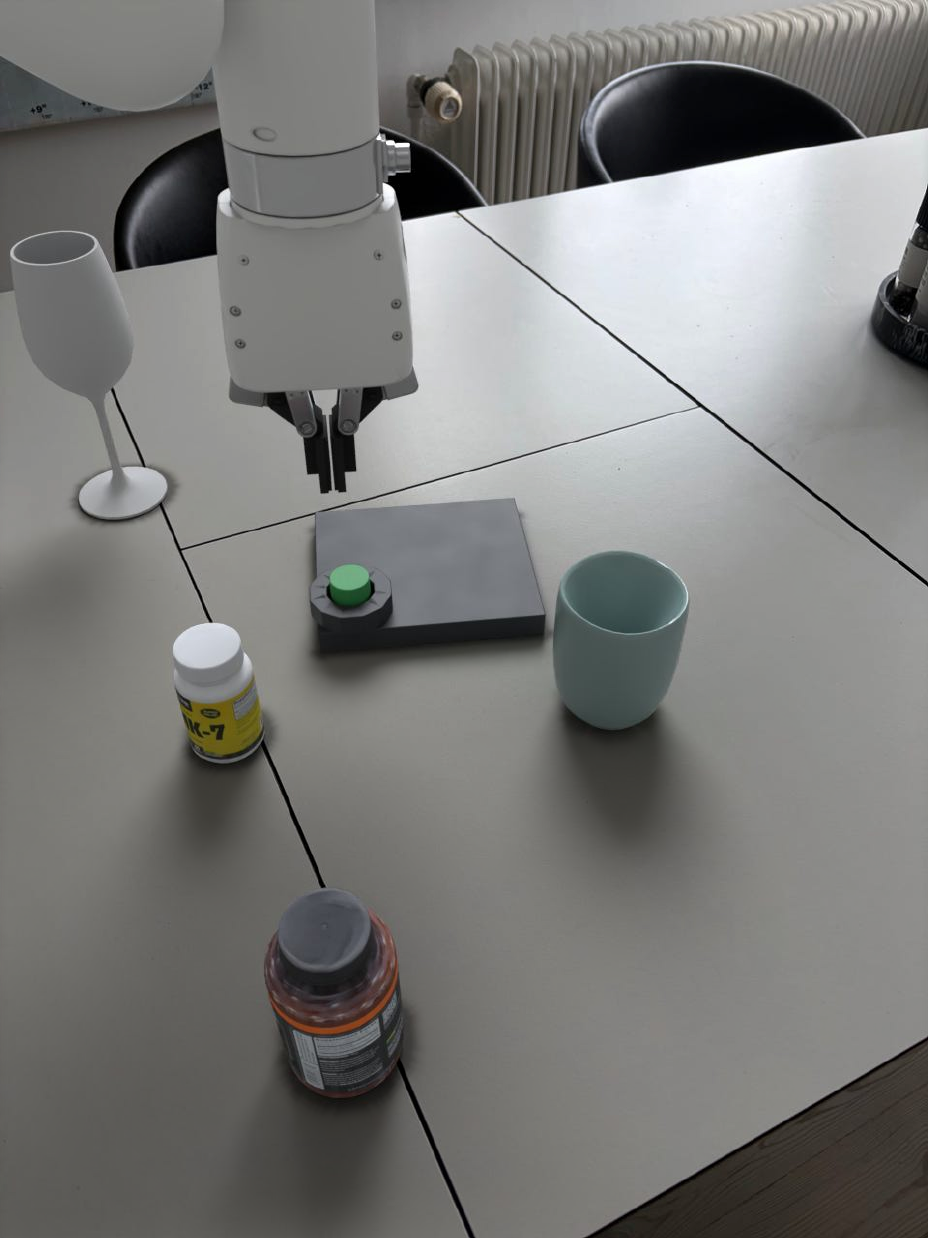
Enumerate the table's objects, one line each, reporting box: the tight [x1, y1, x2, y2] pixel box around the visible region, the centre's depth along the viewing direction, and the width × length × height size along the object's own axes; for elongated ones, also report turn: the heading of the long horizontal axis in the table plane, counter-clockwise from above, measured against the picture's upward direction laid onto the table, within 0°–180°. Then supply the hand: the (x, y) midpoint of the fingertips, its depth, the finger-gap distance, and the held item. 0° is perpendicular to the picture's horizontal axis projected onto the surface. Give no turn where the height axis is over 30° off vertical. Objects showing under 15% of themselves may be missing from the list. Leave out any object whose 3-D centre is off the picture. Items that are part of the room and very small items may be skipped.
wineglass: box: [9, 230, 169, 521], centre depth 77 cm, size 8×8×21 cm
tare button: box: [329, 565, 371, 606], centre depth 70 cm, size 3×3×2 cm
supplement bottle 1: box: [172, 622, 265, 764], centre depth 62 cm, size 5×5×8 cm
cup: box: [552, 550, 691, 731], centre depth 64 cm, size 8×8×10 cm
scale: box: [309, 497, 547, 654], centre depth 75 cm, size 16×14×4 cm
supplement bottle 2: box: [263, 887, 405, 1099], centre depth 46 cm, size 6×6×11 cm
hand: (332, 479), depth 62 cm, fingers closed
